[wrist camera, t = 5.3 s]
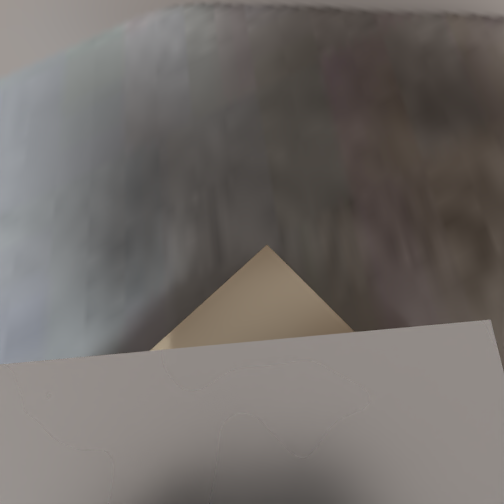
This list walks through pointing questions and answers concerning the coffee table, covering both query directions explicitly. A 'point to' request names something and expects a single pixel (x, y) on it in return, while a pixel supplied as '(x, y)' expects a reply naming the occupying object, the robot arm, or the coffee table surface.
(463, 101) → the coffee table surface
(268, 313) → the stand
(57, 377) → the block
